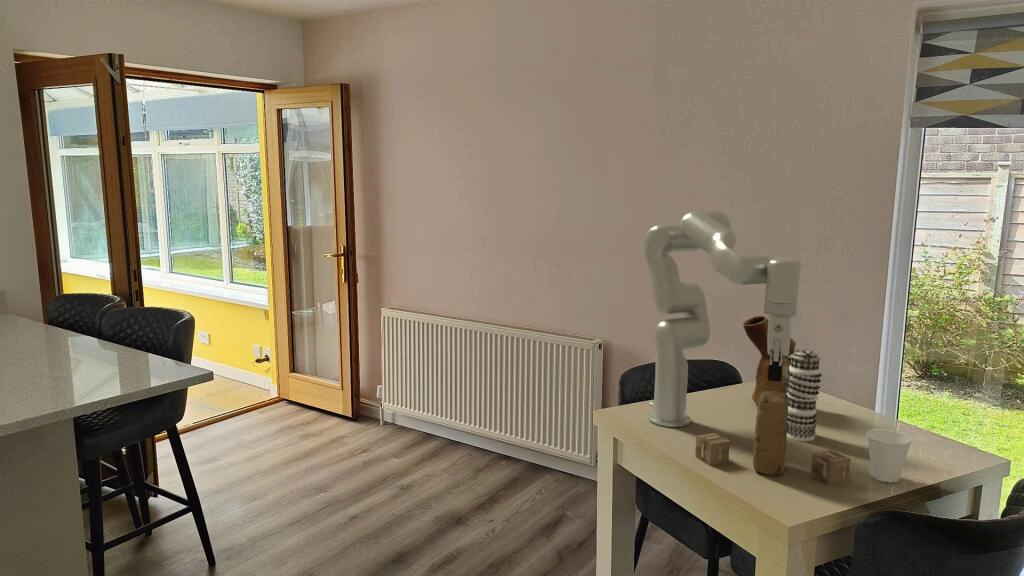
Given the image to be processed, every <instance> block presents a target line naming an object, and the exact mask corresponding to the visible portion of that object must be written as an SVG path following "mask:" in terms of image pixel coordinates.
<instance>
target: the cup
mask: <svg viewBox="0 0 1024 576" xmlns="http://www.w3.org/2000/svg"><path fill="white" fill-rule="evenodd" d="M866 436H867V443H868V454H869V455H868V456H869V464H870V475H871V477H873V479H874V480H876V481H879V482H881V481H882V483H885V482H889V483H888V484H893V483H892V482H895V483H897V482H899V481H900V480H901V479H900V478H901V476H902V472H903V468H904V466H905V461H906V459H907V455H908V452H909V450H910V446H911V444H912V442H913V439H912V438H911V437H910V436H909V435H907V434H905V433H902V432H901V431H900V432H899V431H895V430H891V429H883V428H881V429H880V428H879V429H878V428H875V429H869V430H867V431H866Z"/></svg>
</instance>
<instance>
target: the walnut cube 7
mask: <svg viewBox="0 0 1024 576" xmlns="http://www.w3.org/2000/svg"><path fill="white" fill-rule="evenodd" d="M850 467H851V458H850V457H848V456H846V455H844V454H841V453H839V452H837V451H835V450H832V449H826V450H823V451H818V452H812V458H811V467H810V468H811V469H810V476H811V477H813V478H814V479H816V480H819V481H821V482H823V483H825V484H827V485H828V486H834V485H839V484H843V482H844V483H846V482H847V483H848V482H849V478H850Z"/></svg>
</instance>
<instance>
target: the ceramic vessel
mask: <svg viewBox="0 0 1024 576" xmlns="http://www.w3.org/2000/svg"><path fill="white" fill-rule="evenodd" d="M768 319H769V318H767V316H765V315H757V316H751V317H749V318H747V319H745V320H744V321H743V323H742V326H743V328H744V332H745V333H746V335H747V337H748V339H749V340H750V341H751V343H752V344H753V345H754V347H755V348H757V350H758V351H759V353H760V356H761V358H760V360H759V362H758V365H757V368H756V375H755V382H756V383H755V386H754V387H755V388H754V390H753V393H752V395H751V399H752V401H753V402H754V403H755V405H756V406H758V403H759V399H760V396H761V393H762V392H764V391H779V392H784V393H786V394H787V391H786V389H787V387H788V386H787V383H786V382H787V381H788V380H787V378H786V377H787V375H789V374H787V369H788V368H789V367H790V364H791V356H790V354H793V353H794V351H796V350H795V347H796V345H797V343H796V341H795V339H793V338H792V337H791V336H790V347H789V356H787V357H786V355H783V354H782V355H783V356H782V365H783V366H782V378H781V381H780V382H778V381H770V380H768V367H769V363H770V355H769V354H768V349H767V335H768Z"/></svg>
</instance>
